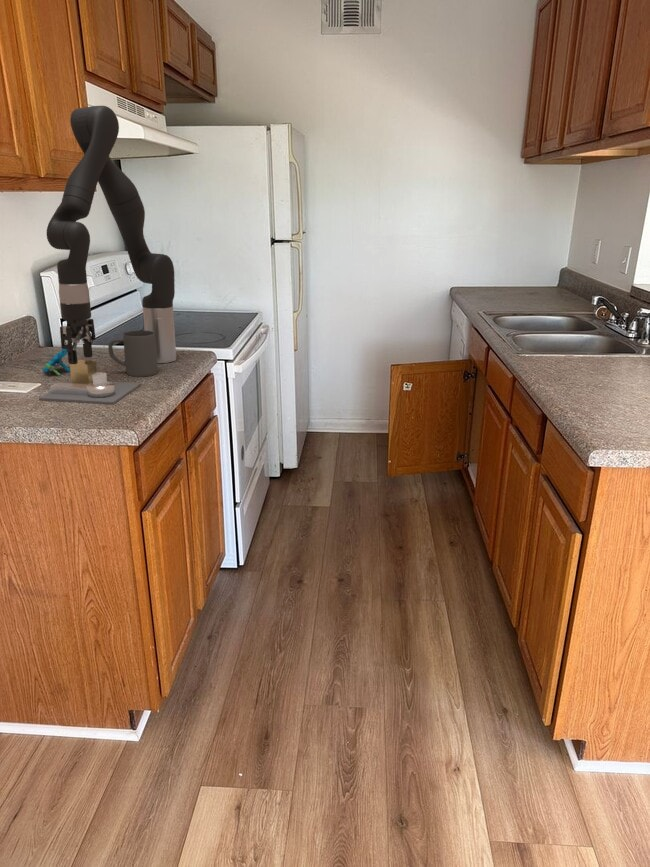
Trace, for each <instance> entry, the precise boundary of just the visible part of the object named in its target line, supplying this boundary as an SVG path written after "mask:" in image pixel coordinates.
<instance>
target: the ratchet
mask: <svg viewBox="0 0 650 867" xmlns="http://www.w3.org/2000/svg"><path fill="white" fill-rule="evenodd" d="M107 375H108V374H107V373H106V372H98V371H97V373H95V374H93V375H92V378H93V383H90V384H75V383H68V382H55V383H54V384H51V385H50V386H49V388H50V392H51V394H68V395H86V396H88V397H91V398H106V397H110V396H113V395H115V385H114V383H112V382H113V381H109V382H107V381H108V377H107Z"/></svg>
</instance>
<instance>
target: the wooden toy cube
mask: <svg viewBox="0 0 650 867" xmlns="http://www.w3.org/2000/svg"><path fill="white" fill-rule="evenodd" d="M77 361H78V363H77V364H69V369H70V371H69V373H70V378H71V379H70V381H72V383H75V384H90V383H93V378H92V375H93V374H95V373H97V372H98V370H97V362H96V360H92V359H77Z"/></svg>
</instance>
